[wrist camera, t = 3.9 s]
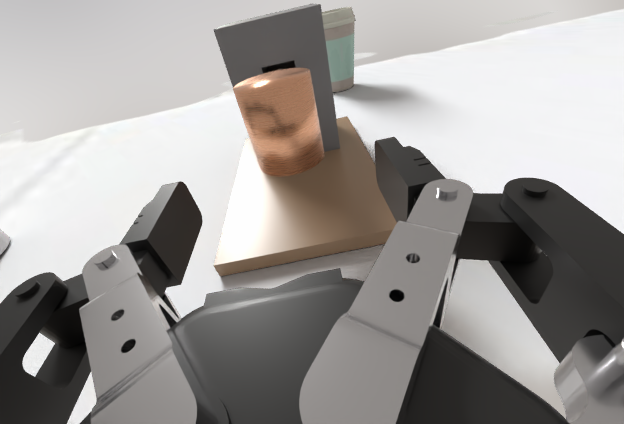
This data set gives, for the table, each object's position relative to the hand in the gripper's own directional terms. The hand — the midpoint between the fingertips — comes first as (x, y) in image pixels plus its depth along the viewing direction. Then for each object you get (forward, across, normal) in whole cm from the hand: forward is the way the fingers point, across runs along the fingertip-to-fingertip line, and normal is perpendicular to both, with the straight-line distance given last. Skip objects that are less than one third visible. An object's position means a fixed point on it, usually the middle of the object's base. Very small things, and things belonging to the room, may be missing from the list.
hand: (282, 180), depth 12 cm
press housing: (+15, 0, +9) cm, 18 cm away
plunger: (+12, 0, +2) cm, 12 cm away
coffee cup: (+46, -9, +9) cm, 48 cm away
